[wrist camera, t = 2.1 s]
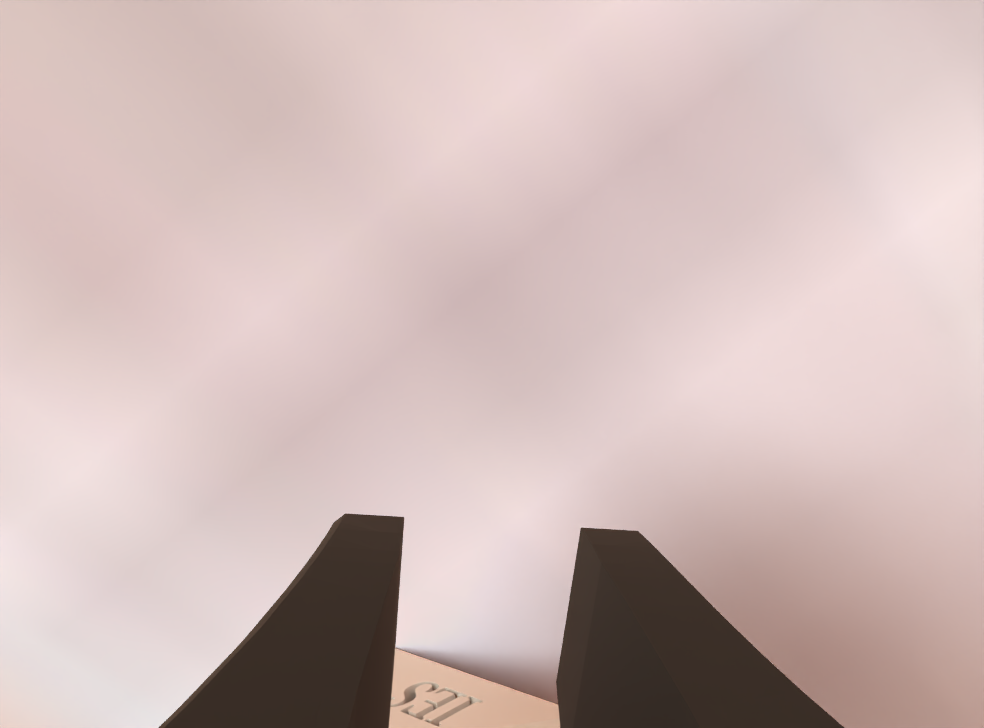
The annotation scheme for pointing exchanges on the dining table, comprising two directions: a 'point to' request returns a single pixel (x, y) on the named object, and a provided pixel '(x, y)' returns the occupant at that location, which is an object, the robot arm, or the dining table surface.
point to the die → (460, 699)
